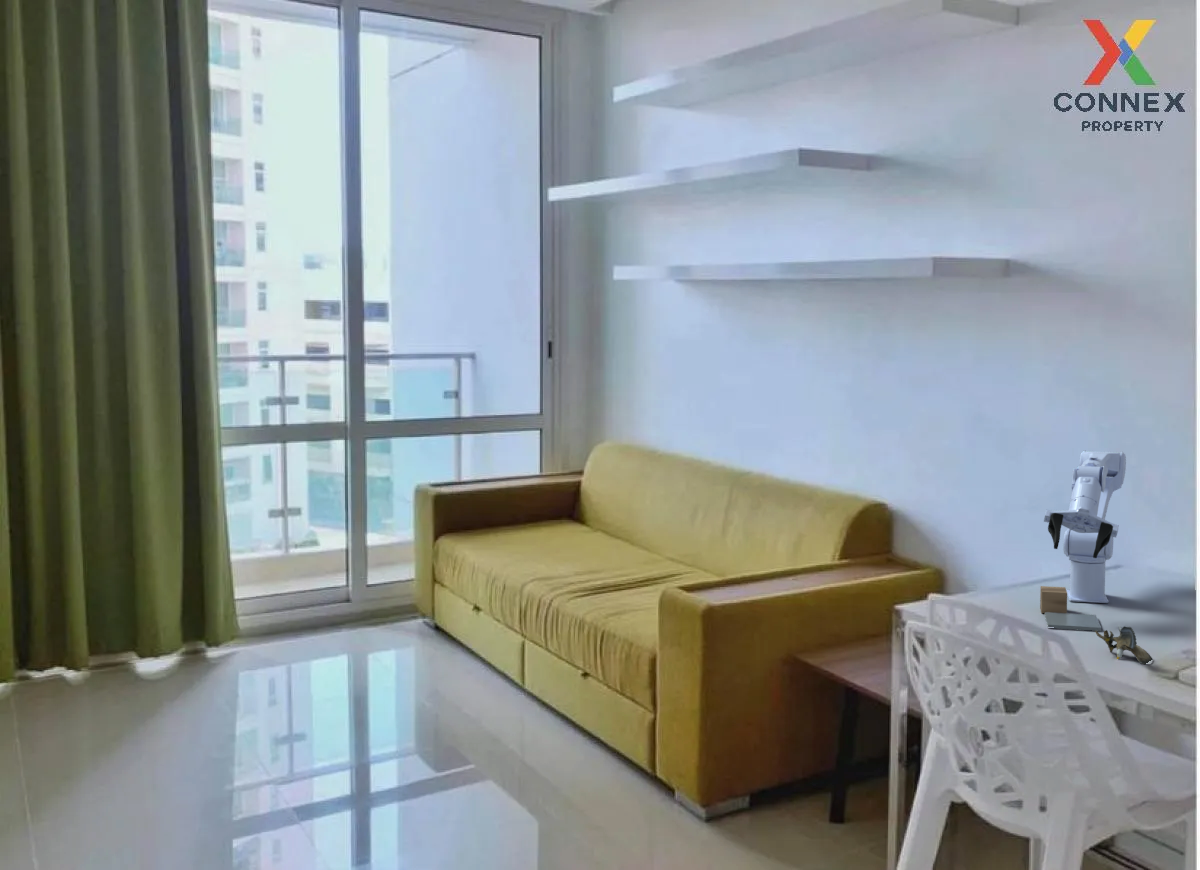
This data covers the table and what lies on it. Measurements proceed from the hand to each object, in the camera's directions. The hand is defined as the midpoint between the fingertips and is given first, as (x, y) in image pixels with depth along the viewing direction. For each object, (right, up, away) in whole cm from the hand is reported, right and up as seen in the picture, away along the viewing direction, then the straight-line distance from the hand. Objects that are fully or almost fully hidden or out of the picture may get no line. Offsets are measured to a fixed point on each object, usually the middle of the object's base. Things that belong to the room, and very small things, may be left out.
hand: (1075, 550), depth 229 cm
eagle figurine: (-1, -18, -24) cm, 30 cm away
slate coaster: (-1, -15, -1) cm, 15 cm away
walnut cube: (-1, -14, +9) cm, 17 cm away
